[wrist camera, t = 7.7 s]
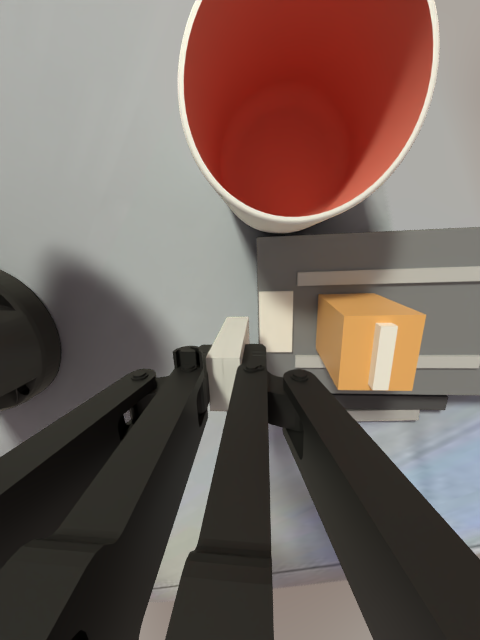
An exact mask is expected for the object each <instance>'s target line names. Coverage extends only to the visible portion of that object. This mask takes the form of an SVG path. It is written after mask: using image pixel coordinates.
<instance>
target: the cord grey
mask: <svg viewBox="0 0 480 640" xmlns="http://www.w3.org/2000/svg"><path fill="white" fill-rule="evenodd" d="M345 409H346V410H347V412H348V413H349V414H350V415H351V416H352V417H353V418H354V419H355V420H356V421H403V420H419V413H420V410H413V409H360V408H345Z"/></svg>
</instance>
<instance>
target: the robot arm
mask: <svg viewBox="0 0 480 640" xmlns="http://www.w3.org/2000/svg"><path fill="white" fill-rule="evenodd" d="M173 358H174V365H175V369H174V370H173V372H172V373H171V374H170V376H166V377H160V378H157V377H156V372H155V371H154V370H151V369H142V370H141V369H139V370H137V371H134V372H131V373H130V374H128V375H126V376H125V377H123V378H121V379H120V380H118V381H117V382H115V383H114V384H112V385H111V386H109V387H108V388H106V389H105V390H103V391H101V392H100V393H98V394H97V395H95V396H94V397H92V398H91V399H89V400H88V401H86V402H85V403H83V404H82V405H80V406H78V407H77V408H75V409H74V410H72V411H71V412H69V413H68V414H66V415H65V416H63V417H62V418H60V419H58V420H57V421H55V422H54V423H52V424H51V425H49V426H48V427H46V428H45V429H43V430H42V431H40V432H38V433H37V434H35V435H34V436H32V437H31V438H29V439H28V440H26V441H25V442H23V443H22V444H20V445H18V446H17V447H15V448H14V449H12V450H11V451H9V452H8V453H6V454H5V455H3V456H2V457H0V640H139V634H140V628H141V625H142V621H143V617H144V614H145V611H146V608H147V605H148V602H149V599H150V596H151V592H152V589H153V586H154V583H155V580H156V577H157V574H158V571H159V568H160V565H161V561H162V558H163V555H164V552H165V549H166V546H167V543H168V540H169V537H170V534H171V530H172V527H173V524H174V521H175V518H176V515H177V512H178V509H179V506H180V503H181V499H182V496H183V493H184V490H185V487H186V484H187V481H188V478H189V475H190V472H191V468H192V465H193V462H194V459H195V456H196V453H197V450H198V447H199V444H200V441H201V437H202V434H203V431H204V428H205V425H206V422H207V419H208V410H207V407H208V404H209V402H210V411H227V416H226V420H225V425H224V429H223V433H222V438H221V442H220V447H219V451H218V456H217V460H216V465H215V469H214V474H213V478H212V483H211V487H210V491H209V496H208V500H207V505H206V509H205V514H204V518H203V523H202V527H201V532H200V536H199V540H198V544H197V547H196V549H195V550H194V551H191V552H190V553H189V555H188V557H187V559H186V562H185V565H184V569H183V572H182V575H181V579H180V583H179V587H178V591H177V595H176V599H175V603H174V607H173V611H172V615H171V619H170V623H169V627H168V631H167V635H166V639H165V640H274V631H273V594H272V593H273V591H272V558H271V524H270V480H269V437H268V423H269V424H272V425H276V426H279V427H283V434H284V436H285V438H286V441H287V443H288V445H289V447H290V450H291V452H292V454H293V457H294V459H295V461H296V463H297V466H298V468H299V470H300V473H301V475H302V477H303V479H304V482H305V484H306V486H307V489H308V491H309V493H310V495H311V498H312V500H313V502H314V505H315V507H316V509H317V512H318V514H319V516H320V518H321V521H322V523H323V525H324V528H325V530H326V532H327V534H328V537H329V539H330V541H331V544H332V546H333V548H334V550H335V553H336V555H337V557H338V560H339V562H340V564H341V566H342V569H343V571H344V573H345V576H346V578H347V580H348V582H349V585H350V587H351V589H352V592H353V594H354V596H355V598H356V601H357V603H358V605H359V607H360V610H361V612H362V615H363V617H364V619H365V621H366V624H367V626H368V628H369V631H370V633H371V635H372V637H373V640H480V559H479V558H478V557H477V556H476V555H475V554H474V553H473V551H472V550H471V549H470V548H469V547H468V546H467V545H466V544H465V542H464V541H463V540H462V539H461V538H460V537H459V536H458V535H457V534H456V532H455V531H454V530H453V529H452V528H451V527H450V526H449V525H448V523H447V522H446V521H445V520H444V519H443V518H442V517H441V516H440V514H439V513H438V512H437V511H436V510H435V509H434V508H433V507H432V506H431V504H430V503H429V502H428V501H427V500H426V499H425V498H424V497H423V495H422V494H421V493H420V492H419V491H418V490H417V489H416V488H415V487H414V485H413V484H412V483H411V482H410V481H409V480H408V479H407V478H406V476H405V475H404V474H403V473H402V472H401V471H400V470H399V469H398V467H397V466H396V465H395V464H394V463H393V462H392V461H391V460H390V459H389V457H388V456H387V455H386V454H385V453H384V452H383V451H382V450H381V448H380V447H379V446H378V445H377V444H376V443H375V442H374V441H373V440H372V438H371V437H370V436H369V435H368V434H367V433H366V432H365V431H364V429H363V428H362V427H361V426H360V425H359V424H358V423H357V422H356V420H355V419H354V418H353V417H352V416H351V415H350V414H349V413H348V412H347V410H346V409H345V408H344V407H343V406H342V405H341V404H340V403H339V401H338V400H337V399H336V398H335V397H334V396H333V395H332V394H331V393H330V391H329V390H328V389H327V388H326V387H325V386H324V385H323V384H322V382H321V381H320V380H319V379H318V378H317V377H316V376H315V375H314V374H313V373H311V372H309V371H306V370H303V369H294V370H289V371H287V372H285V373H284V375H283V377H278V376H275V375H273V374H271V373H269V372H268V370H267V360H266V347H265V346H264V345H263V344H249V318H248V317H227V318H226V320H225V322H224V324H223V326H222V328H221V330H220V331H219V333H218V335H217V337H216V339H215V341H214V343H213V345H201V346H200V347H197V346H185V347H181V348H178V349H176V350H174V351H173ZM60 360H61V347H60V340H59V336H58V333H57V330H56V327H55V325H54V322H53V320H52V318H51V316H50V315H49V313H48V311H47V310H46V308H45V307H44V305H43V304H42V303H41V301H40V300H39V299H38V298H37V297H36V296H35V294H34V293H33V292H32V291H31V290H30V289H28V288H27V287H26V286H25V285H24V284H23V283H21V282H20V281H19V280H17V279H16V278H14V277H13V276H11V275H9V274H8V273H6V272H4V271H2V270H0V411H3V410H7V409H10V408H13V407H15V406H18V405H20V404H22V403H24V402H26V401H27V400H29V399H30V398H32V397H34V396H35V395H37V394H38V393H40V392H41V391H43V390H44V389H45V388H47V387H48V386H49V385H50V384H51V382H52V381H53V380H54V378H55V376H56V374H57V372H58V369H59V365H60ZM128 410H129V411H130V416H131V420H130V421H129V422H128V423H125V420H124V415H123V414H124V413H125V412H127V411H128Z"/></svg>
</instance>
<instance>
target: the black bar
mask: <svg viewBox="0 0 480 640" xmlns="http://www.w3.org/2000/svg"><path fill="white" fill-rule="evenodd" d="M331 394H332V395H333V396H334V397H335V398H336V399H337V400H338V401H339V403H340V404H341V405H342V406H343V407H344V408H360V409H413V410H445V408H446V404H447V400H448V396H446V395H419V394H345V393H331Z"/></svg>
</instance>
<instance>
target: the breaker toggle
mask: <svg viewBox="0 0 480 640" xmlns="http://www.w3.org/2000/svg"><path fill="white" fill-rule="evenodd" d="M425 319H426V314H423V313H421V312H418V311H416V310H414V309H411V308H409V307H406V306H404V305H401V304H399V303H397V302H394V301H392V300H389V299H387V298H384V297H382V296H380V295H377V294H375V293H358V294H318V312H317V331H316V350H317V352H318V354H319V355H320V357H321V359H322V361H323V363H324V365H325V367H326V369H327V370H328V372H329V374H330V376H331V378H332V380H333V382H334V384H335V385H336V387H337V389H338V390H377V391H412V389H413V384H414V378H415V373H416V368H417V362H418V357H419V352H420V346H421V341H422V335H423V330H424V325H425Z"/></svg>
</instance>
